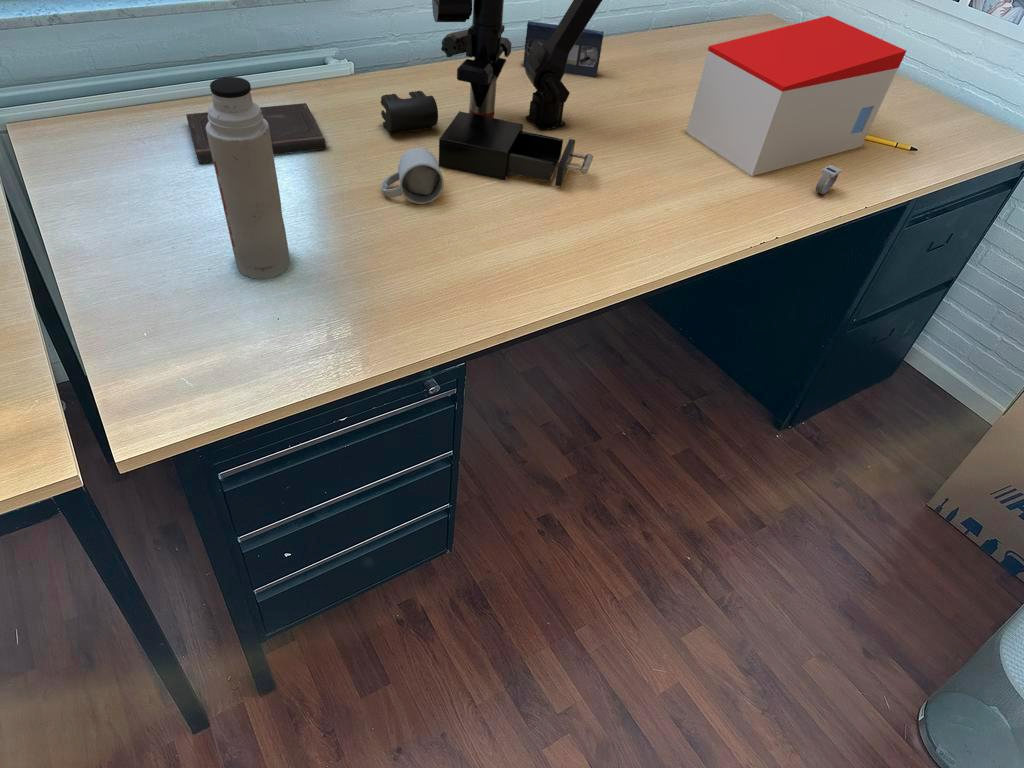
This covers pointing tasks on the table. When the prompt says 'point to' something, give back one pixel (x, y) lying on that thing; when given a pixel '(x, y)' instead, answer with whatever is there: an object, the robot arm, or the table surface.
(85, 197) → the table surface
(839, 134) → the bookstore
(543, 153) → the drawer
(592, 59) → the vhs cassette tape
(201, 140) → the hardcover book
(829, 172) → the wristwatch
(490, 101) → the grey metal cylinder
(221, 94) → the thermos bottle
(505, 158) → the cabinet
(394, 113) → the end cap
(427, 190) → the ceramic mug
